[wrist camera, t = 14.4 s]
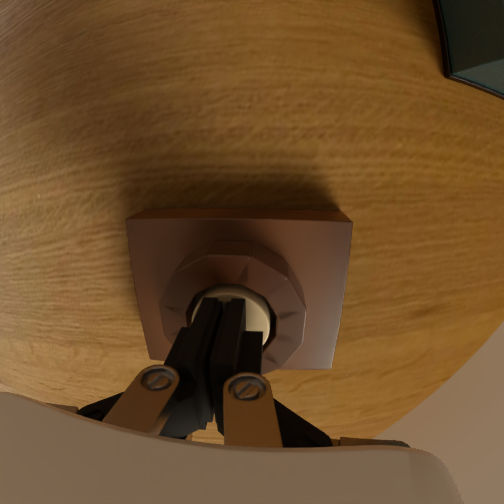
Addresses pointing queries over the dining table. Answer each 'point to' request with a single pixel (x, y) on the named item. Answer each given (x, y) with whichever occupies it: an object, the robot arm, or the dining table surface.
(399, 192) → the dining table surface
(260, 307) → the button
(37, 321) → the dining table surface
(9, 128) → the dining table surface
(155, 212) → the control block
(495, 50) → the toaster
